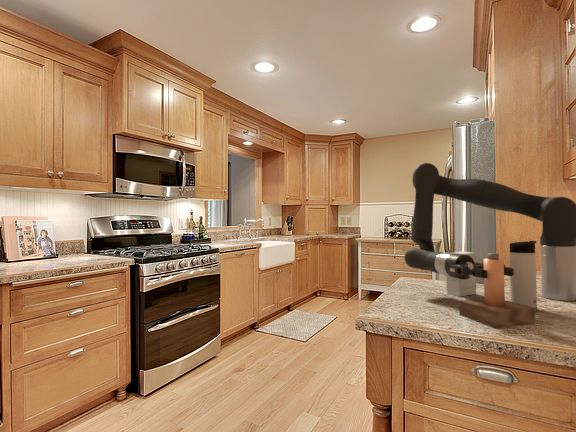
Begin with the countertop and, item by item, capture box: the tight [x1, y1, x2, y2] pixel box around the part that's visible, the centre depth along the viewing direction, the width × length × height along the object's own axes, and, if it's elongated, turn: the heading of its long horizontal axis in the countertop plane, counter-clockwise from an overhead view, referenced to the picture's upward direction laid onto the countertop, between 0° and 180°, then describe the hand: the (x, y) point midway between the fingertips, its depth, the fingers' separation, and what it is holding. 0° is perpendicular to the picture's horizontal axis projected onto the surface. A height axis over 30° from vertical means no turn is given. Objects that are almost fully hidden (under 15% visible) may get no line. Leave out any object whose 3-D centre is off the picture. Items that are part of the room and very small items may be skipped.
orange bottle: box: [482, 252, 506, 306], centre depth 87 cm, size 5×5×14 cm
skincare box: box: [445, 250, 477, 297], centre depth 115 cm, size 8×6×15 cm
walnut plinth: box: [458, 297, 536, 329], centre depth 87 cm, size 12×12×4 cm
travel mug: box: [508, 240, 538, 312], centre depth 96 cm, size 6×7×20 cm
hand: (499, 273), depth 85 cm, fingers open, 8 cm apart
